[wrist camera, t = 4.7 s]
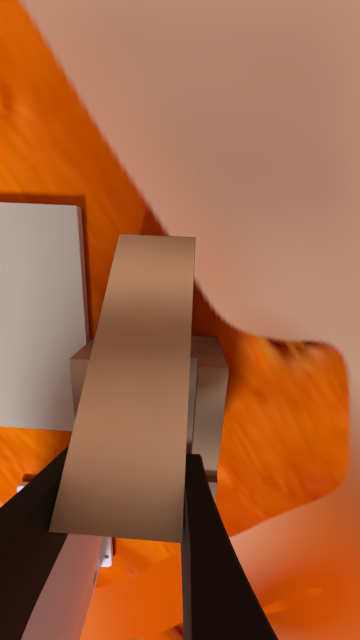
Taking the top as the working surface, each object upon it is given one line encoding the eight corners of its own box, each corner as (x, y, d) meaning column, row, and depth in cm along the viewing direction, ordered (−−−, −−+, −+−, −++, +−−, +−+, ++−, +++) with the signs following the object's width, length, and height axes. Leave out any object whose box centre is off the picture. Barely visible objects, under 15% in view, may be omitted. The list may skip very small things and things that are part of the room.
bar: (181, 507, 9) (182, 543, 7) (86, 500, 9) (48, 531, 7) (192, 272, 14) (195, 237, 12) (130, 269, 14) (119, 234, 12)
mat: (95, 427, 18) (92, 432, 17) (-27, 418, 18) (-34, 423, 18) (81, 207, 14) (76, 205, 13) (-78, 201, 14) (-89, 198, 13)
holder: (208, 436, 18) (215, 503, 13) (107, 429, 18) (77, 491, 13) (217, 337, 15) (230, 372, 11) (103, 330, 16) (64, 362, 11)
